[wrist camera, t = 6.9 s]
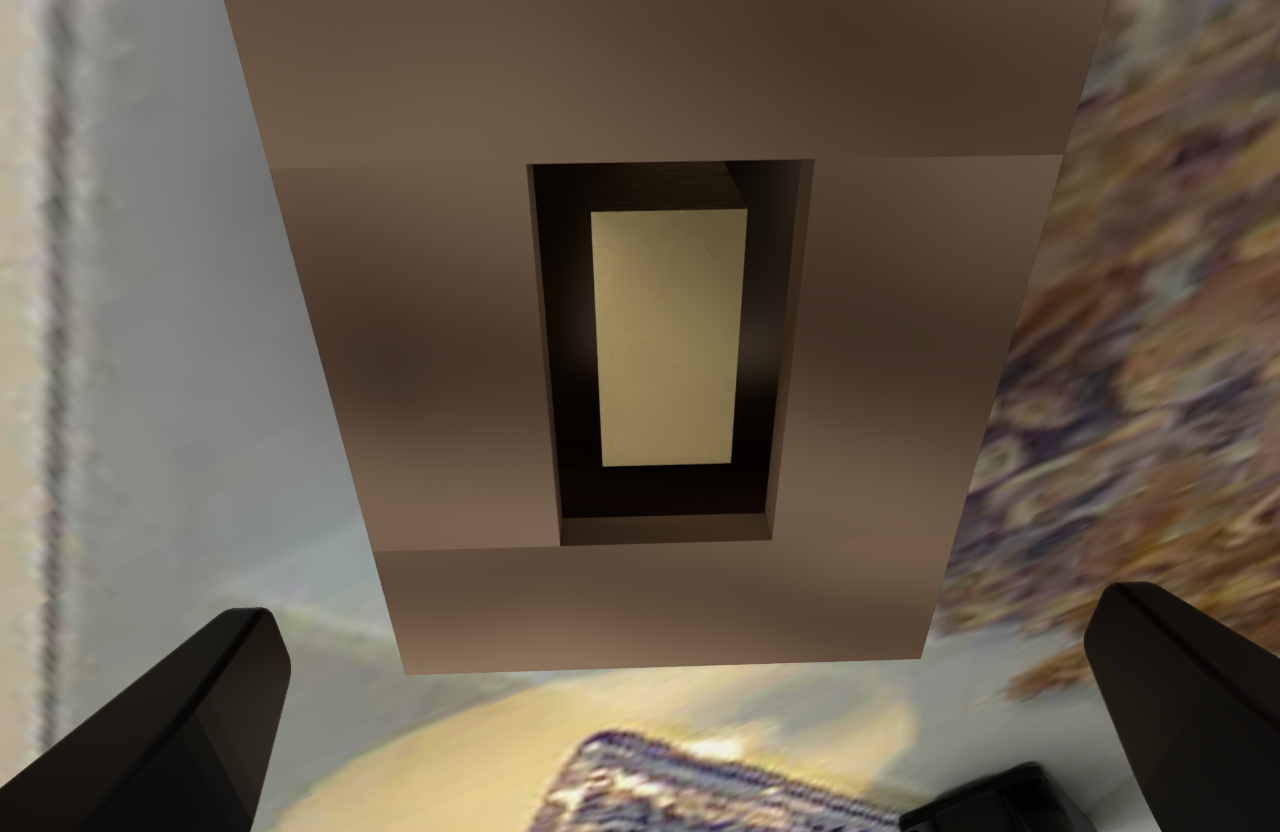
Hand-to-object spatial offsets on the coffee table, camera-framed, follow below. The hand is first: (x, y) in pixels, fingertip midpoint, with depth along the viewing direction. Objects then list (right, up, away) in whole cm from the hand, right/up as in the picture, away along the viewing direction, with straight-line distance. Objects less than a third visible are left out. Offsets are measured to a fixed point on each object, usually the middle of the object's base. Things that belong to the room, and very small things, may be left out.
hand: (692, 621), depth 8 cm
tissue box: (0, +7, +10) cm, 12 cm away
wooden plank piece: (0, +6, +9) cm, 11 cm away
